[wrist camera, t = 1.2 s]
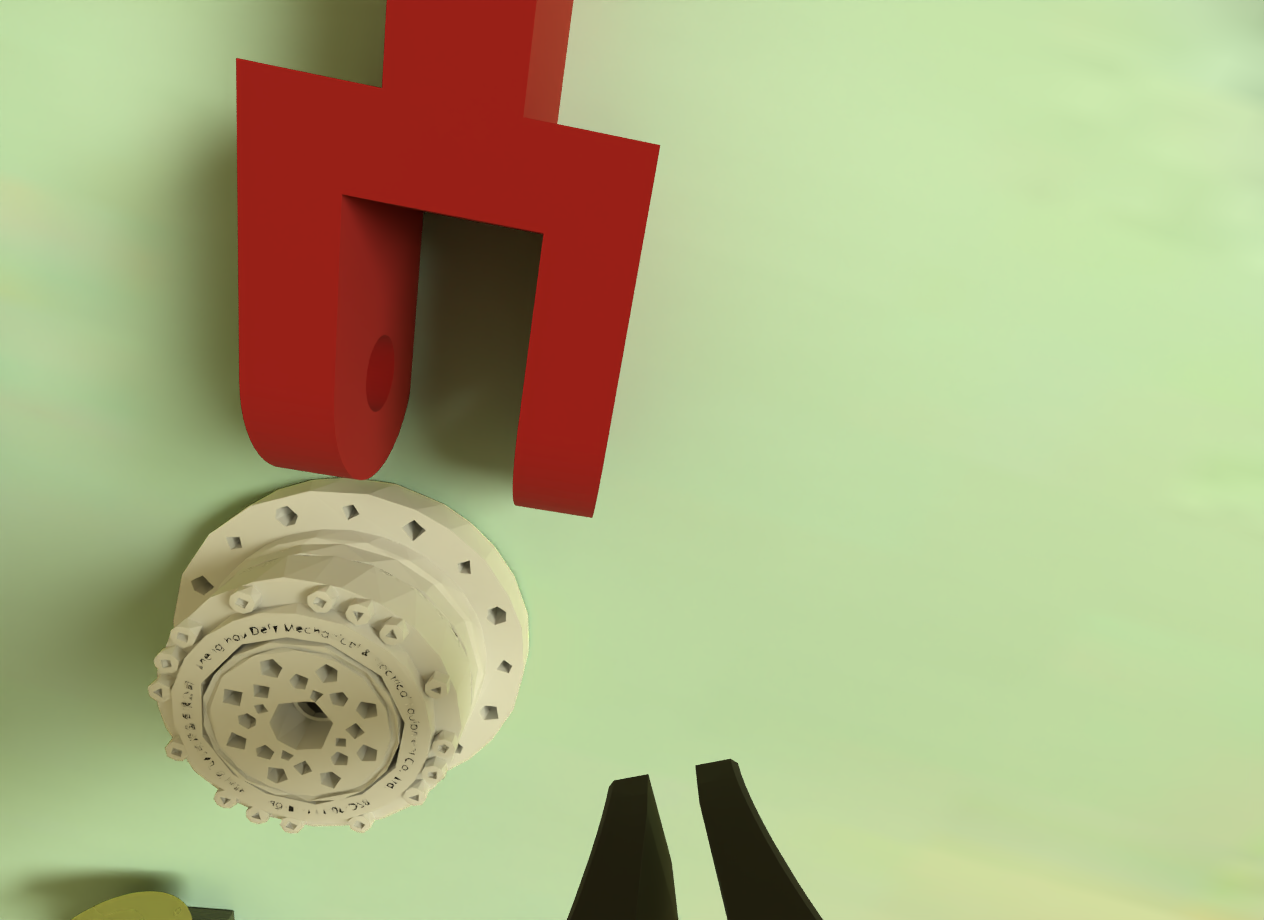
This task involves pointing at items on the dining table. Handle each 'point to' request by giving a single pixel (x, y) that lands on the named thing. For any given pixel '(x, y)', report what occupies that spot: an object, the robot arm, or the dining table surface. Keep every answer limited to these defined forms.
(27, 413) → the dining table surface
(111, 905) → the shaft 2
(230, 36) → the dining table surface
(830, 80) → the dining table surface
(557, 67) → the mechanical linkage
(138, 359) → the dining table surface
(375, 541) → the mechanical component
